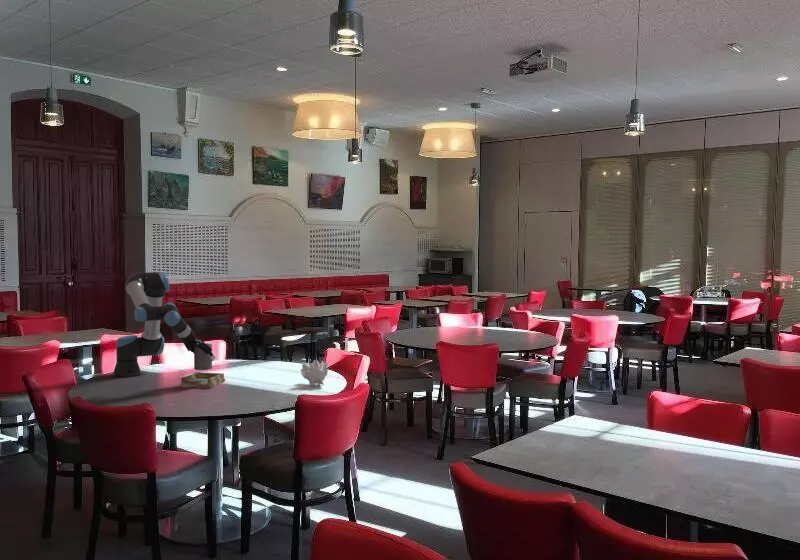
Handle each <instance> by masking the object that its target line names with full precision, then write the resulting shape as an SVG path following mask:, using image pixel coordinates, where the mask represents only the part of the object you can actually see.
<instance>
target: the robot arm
mask: <svg viewBox="0 0 800 560" xmlns="http://www.w3.org/2000/svg"><path fill="white" fill-rule="evenodd" d="M127 278H128V279H126V282H125V285H124V287H125V291H126V293H127V294H128V295H129V296H130V298H131V300H132V302H133V305H134V307H135V308H134V312H133V313H134V319H135V321H136V322H144V331H143V332H142V333H141V336H139V337H138V335H137V334H132V335H131V334H130V335H125V336H121V337H118V338H117V339H116V343H115V348H116V351H115V352H116V353H115V354H116V363H115V366H114V369H113V373H112V374H113V377H115V378H131V377H130V376H132V377H136V375H137V376H139V375H141V374H142V373H141V368H140V365H139V362H138V358H139V357H150V356H153V357H154V356H158V355H161V354H162V353H164V349H165V337H164V336H163V335H162V333H161V332H160V330H161V329H160V328H161V321H164V322H165V323H166V325H167V326H169V328H171V330H172V331H173V332H174V333H175V334H176V335H177V337H179V339H180V340H181V342H182V343H183V345H184V347H185V348H186V350H187V351H188V352H191V353H192V354H194V346H196V347H198V348H200V349H201V350H203V351H204V352H206V355H207V356H208V357H209V358H210V359H211V360H212V362H214V361H215V359H216V358H217V357H216V356H215V354H213V348H212V349H211V348H210V347H209V346H208V345H207V344H206V343H205V341H204V340H203V339H201V338H199V339H198V338H197V337H196V333H195V332H194V331H193V329H192V328H191V327H190V326H189V325H188V323H186V321H185V320H184V319H183V318H182V316H181V314H180V313H179V309H178V307H177V306H176V305H175V304H174V303H173V302H166V303H165V304H163V298H164V297H165V296H166V293H169V291H170V280H169V277H168V275H167V273H166V272H160V271H159V272H158V271H155V272H154V271H153V272H151V271H149V272H148V271H147V272H142V271H140V272H135V273H134V274H131V275H130V276H129V277H127ZM197 344H198V345H197ZM211 351H212V352H211Z"/></svg>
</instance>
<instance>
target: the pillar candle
mask: <svg viewBox="0 0 800 560" xmlns="http://www.w3.org/2000/svg"><path fill="white" fill-rule="evenodd" d="M206 344H207V345H208V346H209V347H210V348H211V349H212V351H211V352H212V353H213V344H212V343H206ZM197 345H198V344H197ZM193 358H194V359H193V360H194V361H193V367H194V370H195V371H207V370H212V369H213V361H212V360H211V359H210V358H209V357H208V356H207V355H206V352H204V351H203V350H201V349H200V348H198V347H196V346H194V353H193Z"/></svg>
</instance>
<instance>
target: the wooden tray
mask: <svg viewBox="0 0 800 560" xmlns="http://www.w3.org/2000/svg"><path fill="white" fill-rule="evenodd" d="M180 380H181V381H180V386H179V387H180V388H189V387H196V388H195V389H213V388H215V387H217V386H216V385H218V384H220V383H222V382H224V381H225V382H226V378H225V373H220V372H218V373H216V372H194V373H191V374H189V375H185V376H183V377H181V378H180ZM225 382H224V383H225ZM222 384H223V383H222ZM220 385H221V384H220ZM214 386H215V387H214ZM218 386H219V385H218ZM212 387H213V388H212Z"/></svg>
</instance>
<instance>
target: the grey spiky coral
mask: <svg viewBox="0 0 800 560" xmlns="http://www.w3.org/2000/svg"><path fill="white" fill-rule="evenodd" d="M301 364H302V366H301V367H302V368H301V369H300V372H301V374H300V375H301V376H302V377H303V378H304V380H307V381H308V383H309V386H310V387H311V386H312V387H313V386H314V384H315V385H316V384H317V386H321V385H322V386H324V385H325V384H324V381H325V379H326V377H327V376H328V371H329V368H327V367H328V364H329V361H328V362H324V360H322V361H321V362H320V361H319V360H318V358H315V359H314V360H313V361H312V363H310V362H301Z"/></svg>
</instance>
